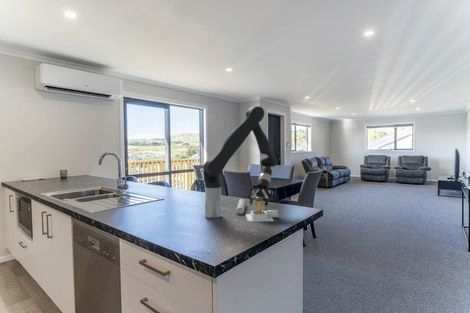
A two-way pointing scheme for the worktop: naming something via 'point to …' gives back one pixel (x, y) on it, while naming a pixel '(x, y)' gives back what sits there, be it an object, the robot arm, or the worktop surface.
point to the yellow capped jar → (258, 204)
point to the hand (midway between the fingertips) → (258, 205)
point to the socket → (262, 216)
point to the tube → (241, 206)
